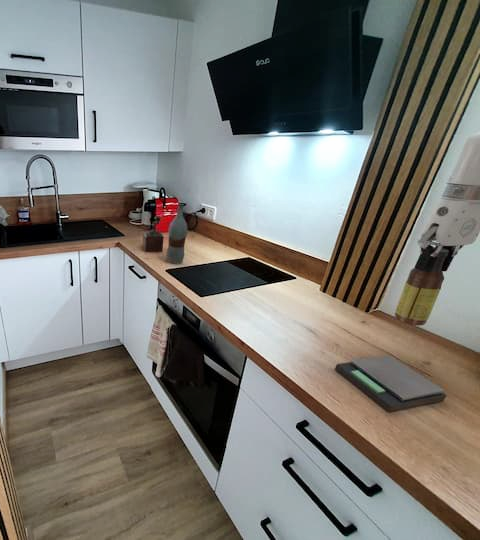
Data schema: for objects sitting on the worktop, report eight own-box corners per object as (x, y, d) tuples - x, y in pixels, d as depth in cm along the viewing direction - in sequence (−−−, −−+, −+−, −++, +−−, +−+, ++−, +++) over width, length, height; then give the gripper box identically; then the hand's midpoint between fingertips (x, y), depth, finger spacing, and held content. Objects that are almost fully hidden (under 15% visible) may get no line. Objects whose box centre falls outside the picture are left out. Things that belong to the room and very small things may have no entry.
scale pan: (386, 356, 80) (388, 354, 80) (443, 392, 68) (445, 390, 68) (349, 362, 77) (350, 360, 77) (401, 401, 66) (403, 398, 65)
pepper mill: (163, 252, 163) (166, 221, 156) (144, 252, 162) (146, 221, 155) (158, 243, 177) (160, 215, 170) (140, 243, 176) (142, 214, 169)
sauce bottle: (428, 321, 75) (463, 250, 67) (421, 329, 71) (457, 255, 64) (395, 311, 80) (425, 243, 72) (387, 318, 77) (417, 248, 69)
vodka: (162, 260, 150) (167, 203, 139) (172, 256, 156) (178, 201, 144) (176, 266, 144) (183, 206, 132) (186, 261, 150) (194, 204, 138)
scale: (383, 362, 81) (386, 354, 80) (443, 401, 69) (448, 393, 68) (334, 369, 78) (337, 362, 77) (388, 412, 65) (392, 404, 64)
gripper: (460, 196, 58) (420, 278, 65) (520, 195, 61) (475, 274, 68) (418, 191, 64) (386, 265, 72) (473, 191, 67) (438, 262, 75)
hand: (430, 269), depth 70 cm, fingers closed on sauce bottle, 4 cm apart
